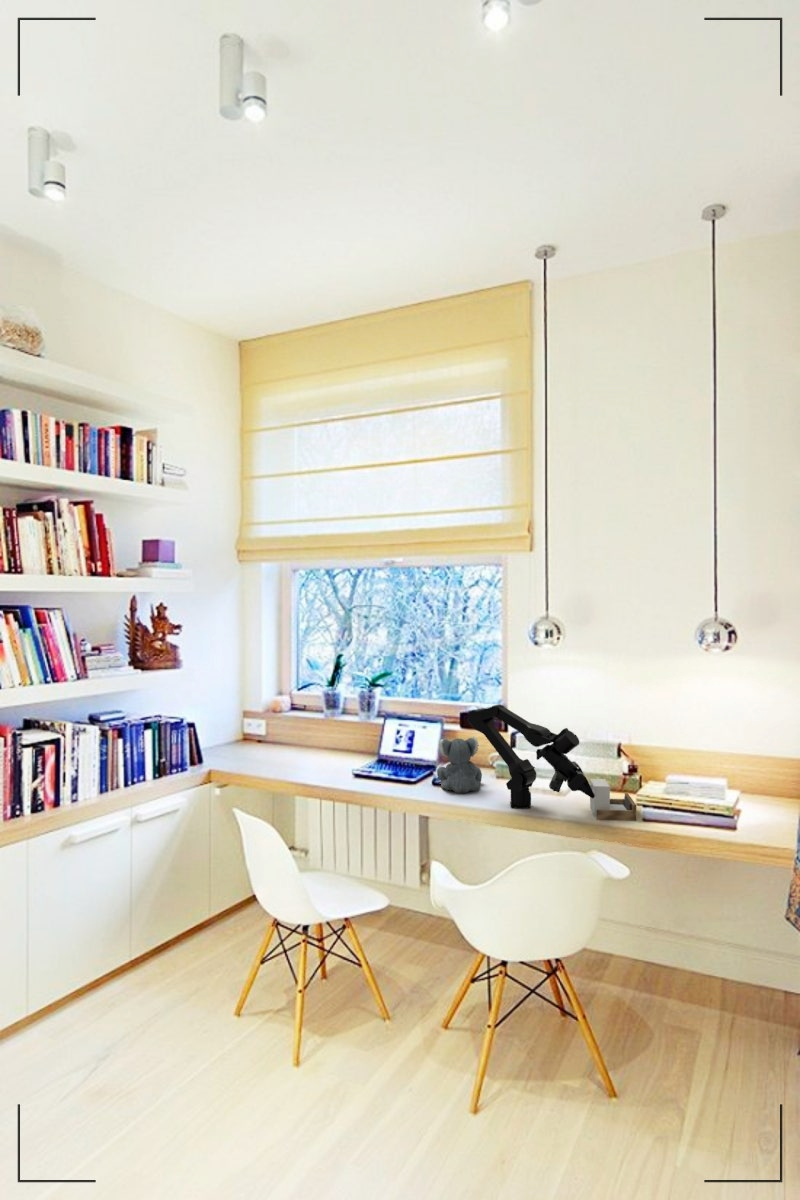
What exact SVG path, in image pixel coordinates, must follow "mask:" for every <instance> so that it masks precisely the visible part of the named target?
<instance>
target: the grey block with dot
mask: <svg viewBox="0 0 800 1200" xmlns="http://www.w3.org/2000/svg"><path fill="white" fill-rule="evenodd" d="M589 785H590V787H591V789H592V791H593V793H594V795H595V797H594V798H591V797H589V809H590V811H591V812H593V813H592V815H593V814H594V815H593V817H597V810H626V808H625V807H624V805H623V804H619V803H618V802H615V803H614V804H610V799H611V792H610V790H611V789H610V788H611V787H610V784H609V783H608V782H607V780H606V779H605V778H603V779H602V778H590V779H589Z"/></svg>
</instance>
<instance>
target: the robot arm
mask: <svg viewBox="0 0 800 1200" xmlns="http://www.w3.org/2000/svg"><path fill="white" fill-rule="evenodd" d="M495 718H496V719H498V720H499V721H501V722H503V723H504V724H506V725H508V726H509V727H511V728H512V729H514V730H516V731H517V732H519V733H520V734H521V735H522V736H523V737H524V739H525V741H527V742H528V743H529V744H530V745H531V746H533V747H536V748H537V749H536V752H535V753H536V758H535V759H536V760H540V759H541V758H542V759H544V760H545V761H546V762H547V763H548V764H549V765H550V766H551V767H552V768H553V770H554V774H553V775H552V778H551V779H550V782H549V783H548V787H549V789H550V790H552V791H553V792H557V793H560V791H561V788H562V786H563V783H564V782H566V783H567V787H568V788H569V789H570V790H571V791H572V792H577V791H580V792H581V793H583V794H585V795H586V796H588V797H589V798H590V797H591V798H594V797H595V795H594V793H593V791H592V789H591V787H590V781H588V778H587V777H586V776H585V774H584V772H583V770H582V768H581V766H580V765H579V764H578V763H577V762H576V761H572V760H570V758H569V757H568V756H567V754H568V753H570V752H571V751H573V749H575V748H576V747H577V746H579V745H580V739H579V737H578V736H577V735H576V733H574V732H573V731H571V730H569V728H568V727H566V728H563V729H561V730H560V732H559V733H558V734H556V733H554V732H552V731H551V730H550V729H549V728H547V727H545V726H542V725H539V724H536V723H532V722H530V721H528V720H526V719H524V718H523V717H521V716H520V715H518V714H516V713H514V712H513V711H511V710H510V709H508V708H507V707H505V706H504V704H500V703H499V704H494V705H492V706H490V707H487V708H486V707H485V708H484V707H482V708H477V709H472V710H470V711H469V712H468V714H467V722H468V723H469V725H471V727H472V728H473V729H475V731H478V732H480V733H481V734H483V735H484V737H485V738H486V739H487V740H488V742H489V744H491V746H492V747H493V749H495V751H496V752H497V754H498V755H499V756H500V757H501V759H502V760H503V762H505V764H506V765H507V768H508V772H509V776H510V777H511V778H510V779H509V780H508V781H507V782H506V783H505V785H506V788H507V790H508V791H510V801H509V805H510V808H511V807H512V809H530V808H531V805H532V793H531V791H530V787H533V783H534V782H535V781H536V779H537V771H536V767H535V766H534V765H532V763H531V761H530V759H528V758H525V759H521V757H519V756H518V755H517V753H516V752H515V751H514V749H513V748H512V747H511V745H510V744H509V743H508V742H507V740H506V738H504V736H503V735H502V734H501V732H500V730H498V729H497V727H496V725H495V721H494V720H495ZM541 746H543V747H542V748H539V747H541ZM515 807H516V808H515Z"/></svg>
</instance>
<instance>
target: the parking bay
mask: <svg viewBox="0 0 800 1200" xmlns="http://www.w3.org/2000/svg"><path fill="white" fill-rule="evenodd" d="M615 802H618V803H619V804H623V805H624V807H625V808H626V810H597V816H596V820H598V821H600V820H601V821H602V820H603V821H605V820H606V821H637V804H636V802H635V801H634V800H633V798H632V797H631V796H630V794H629V793H628V792H624V798H610V804H614V803H615Z"/></svg>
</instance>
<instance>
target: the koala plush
mask: <svg viewBox="0 0 800 1200" xmlns="http://www.w3.org/2000/svg"><path fill="white" fill-rule="evenodd" d="M438 746H439V747H438V749H439V752H440V754H441V755H442V756H443V757H447V760H448V762H449V763H447V764H446V766H439V767H438V768H437V769H436V772H437V773H436V775H437V780H438V779H439V780H441V783H439V785H440V784H441V785H440V786H441V789H443V790H447V791H448V790H450V791H451V790H453V792H454V793H456V794H457V793H458V794H466V793H468V792H476V791H478V790H479V789H480V784H481V783H482V776H483V774H482V770H481V768H480V766H476V765H475V763H474V762H472V761H471V757H472V758H473V757H475V755H476V754H478V751H479V746H480V745H479V741H478V739H477V737H475V736H471V737H469V738H468V739H463V738H458V737H457V738H454V739H453V740H451V741H450V740H448V739H447V738H443V739H439V741H438ZM451 792H452V791H451Z"/></svg>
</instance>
